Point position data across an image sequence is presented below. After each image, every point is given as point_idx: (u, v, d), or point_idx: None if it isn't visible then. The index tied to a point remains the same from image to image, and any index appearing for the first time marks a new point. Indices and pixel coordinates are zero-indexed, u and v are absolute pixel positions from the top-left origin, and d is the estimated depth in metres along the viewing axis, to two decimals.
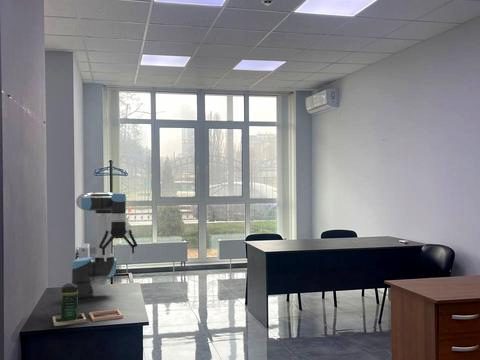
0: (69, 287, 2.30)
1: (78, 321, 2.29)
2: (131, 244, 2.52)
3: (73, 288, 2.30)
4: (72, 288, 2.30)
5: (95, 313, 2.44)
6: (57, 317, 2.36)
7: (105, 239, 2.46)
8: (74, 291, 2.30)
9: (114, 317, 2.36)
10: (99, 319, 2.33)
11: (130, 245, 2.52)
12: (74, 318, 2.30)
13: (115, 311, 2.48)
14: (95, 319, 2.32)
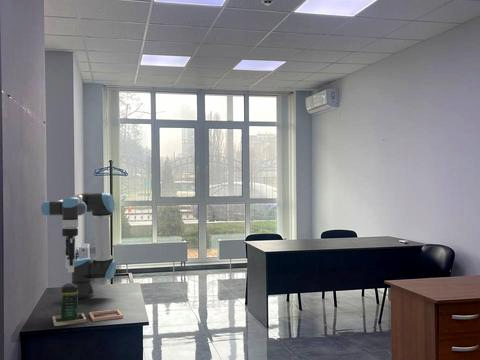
0: (69, 287, 2.30)
1: (78, 321, 2.29)
2: (68, 255, 2.27)
3: (73, 288, 2.30)
4: (72, 288, 2.30)
5: (95, 313, 2.44)
6: (57, 317, 2.36)
7: None
8: (74, 291, 2.30)
9: (114, 317, 2.36)
10: (99, 319, 2.33)
11: (69, 256, 2.27)
12: (74, 318, 2.30)
13: (115, 311, 2.48)
14: (95, 319, 2.32)
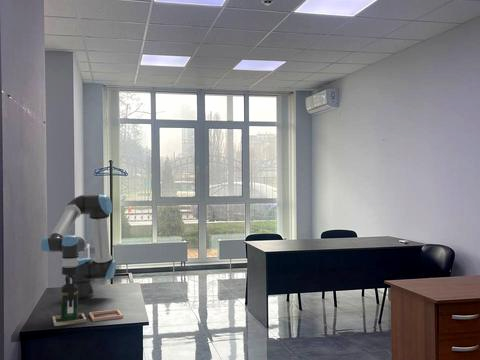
0: None
1: (78, 321, 2.29)
2: None
3: None
4: None
5: (95, 313, 2.44)
6: (57, 317, 2.36)
7: None
8: (74, 291, 2.30)
9: (114, 317, 2.36)
10: (99, 319, 2.33)
11: None
12: (74, 318, 2.30)
13: (115, 311, 2.48)
14: (95, 319, 2.32)
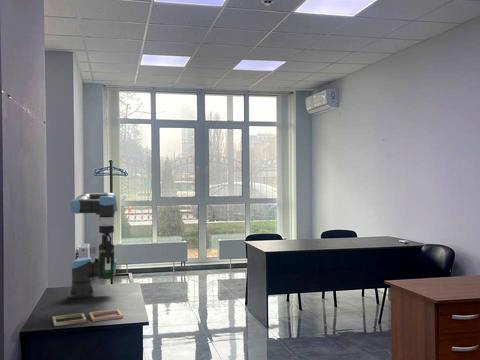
0: None
1: (78, 321, 2.29)
2: (105, 253, 2.36)
3: None
4: None
5: (95, 313, 2.44)
6: (57, 317, 2.36)
7: None
8: (111, 249, 2.38)
9: (114, 317, 2.36)
10: (99, 319, 2.33)
11: (106, 253, 2.37)
12: (111, 275, 2.38)
13: (115, 311, 2.48)
14: (95, 319, 2.32)
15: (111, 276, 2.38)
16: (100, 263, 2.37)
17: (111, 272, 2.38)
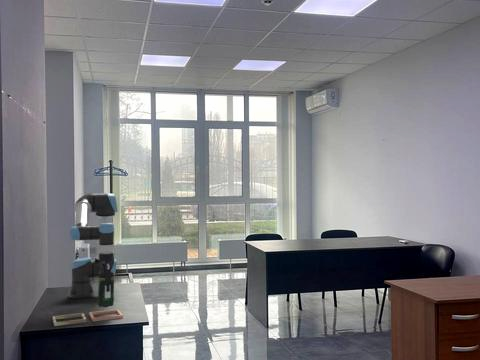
0: None
1: (78, 321, 2.29)
2: (105, 281, 2.36)
3: None
4: None
5: (95, 313, 2.44)
6: (57, 317, 2.36)
7: None
8: (111, 276, 2.38)
9: (114, 317, 2.36)
10: (99, 319, 2.33)
11: None
12: (111, 303, 2.38)
13: (115, 311, 2.48)
14: (95, 319, 2.32)
15: (111, 304, 2.38)
16: (100, 291, 2.37)
17: (111, 300, 2.38)
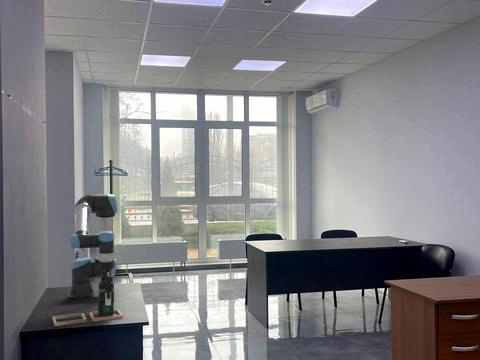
0: None
1: (78, 321, 2.29)
2: None
3: None
4: None
5: (95, 313, 2.44)
6: (57, 317, 2.36)
7: (101, 277, 2.47)
8: None
9: (114, 317, 2.36)
10: (99, 319, 2.33)
11: None
12: (111, 314, 2.38)
13: (115, 311, 2.48)
14: (95, 319, 2.32)
15: (111, 315, 2.38)
16: (100, 302, 2.37)
17: (111, 311, 2.38)
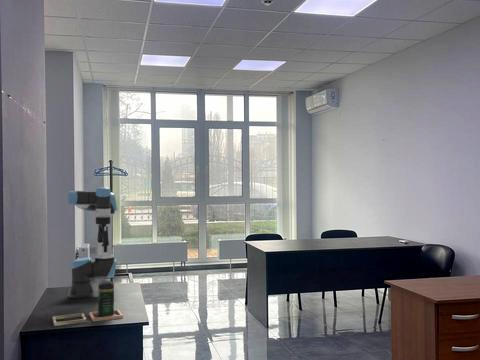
0: (106, 284, 2.37)
1: (78, 321, 2.29)
2: (102, 242, 2.38)
3: (110, 285, 2.38)
4: (109, 285, 2.38)
5: (95, 313, 2.44)
6: (57, 317, 2.36)
7: (98, 233, 2.50)
8: (111, 288, 2.38)
9: (114, 317, 2.36)
10: (99, 319, 2.33)
11: None
12: (111, 314, 2.38)
13: (115, 311, 2.48)
14: (95, 319, 2.32)
15: (111, 315, 2.38)
16: (100, 302, 2.37)
17: (111, 311, 2.38)
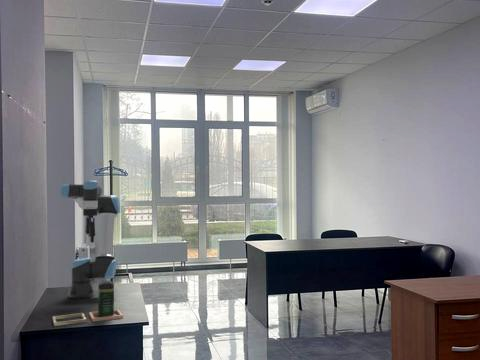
0: (106, 284, 2.37)
1: (78, 321, 2.29)
2: (89, 232, 2.48)
3: (110, 285, 2.38)
4: (109, 285, 2.38)
5: (95, 313, 2.44)
6: (57, 317, 2.36)
7: (86, 224, 2.60)
8: (111, 288, 2.38)
9: (114, 317, 2.36)
10: (99, 319, 2.33)
11: (90, 233, 2.48)
12: (111, 314, 2.38)
13: (115, 311, 2.48)
14: (95, 319, 2.32)
15: (111, 315, 2.38)
16: (100, 302, 2.37)
17: (111, 311, 2.38)
